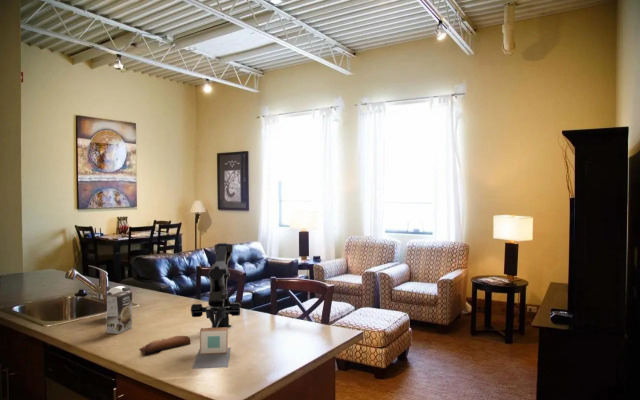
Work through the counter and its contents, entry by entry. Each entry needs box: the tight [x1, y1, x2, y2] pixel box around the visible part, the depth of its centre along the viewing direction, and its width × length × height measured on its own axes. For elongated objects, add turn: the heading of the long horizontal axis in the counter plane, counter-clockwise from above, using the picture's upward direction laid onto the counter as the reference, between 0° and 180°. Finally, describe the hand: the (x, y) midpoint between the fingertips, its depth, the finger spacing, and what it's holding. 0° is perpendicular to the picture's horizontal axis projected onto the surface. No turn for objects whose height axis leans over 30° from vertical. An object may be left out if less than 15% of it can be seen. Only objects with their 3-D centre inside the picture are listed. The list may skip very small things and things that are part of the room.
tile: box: [199, 327, 229, 354], centre depth 159 cm, size 3×10×9 cm, turn 99°
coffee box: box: [106, 291, 133, 335], centre depth 186 cm, size 9×6×16 cm
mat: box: [191, 347, 232, 370], centre depth 155 cm, size 19×12×1 cm, turn 9°
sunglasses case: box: [138, 335, 191, 356], centre depth 166 cm, size 18×7×7 cm
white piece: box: [105, 284, 131, 320], centre depth 207 cm, size 12×11×15 cm
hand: (214, 329), depth 161 cm, fingers closed
